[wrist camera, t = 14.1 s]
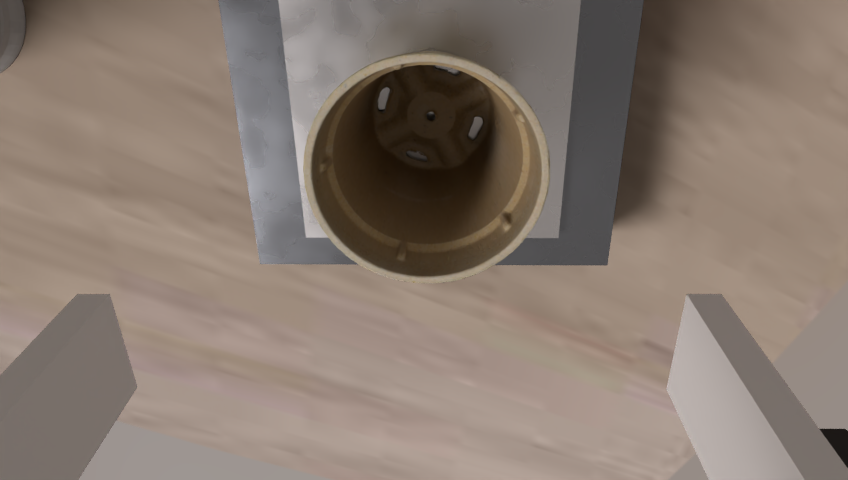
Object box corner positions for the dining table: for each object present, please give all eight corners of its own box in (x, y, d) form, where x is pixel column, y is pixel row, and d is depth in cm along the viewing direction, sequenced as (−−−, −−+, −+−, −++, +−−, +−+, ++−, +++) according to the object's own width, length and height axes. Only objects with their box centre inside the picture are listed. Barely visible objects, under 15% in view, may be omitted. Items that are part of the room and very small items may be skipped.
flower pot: (529, 192, 33) (552, 276, 26) (354, 207, 34) (326, 293, 26) (522, 5, 29) (548, 39, 21) (322, 27, 30) (278, 67, 22)
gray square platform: (277, 232, 40) (257, 268, 36) (232, -85, 32) (201, -84, 28) (592, 233, 39) (609, 269, 35) (632, -92, 31) (659, -93, 27)
